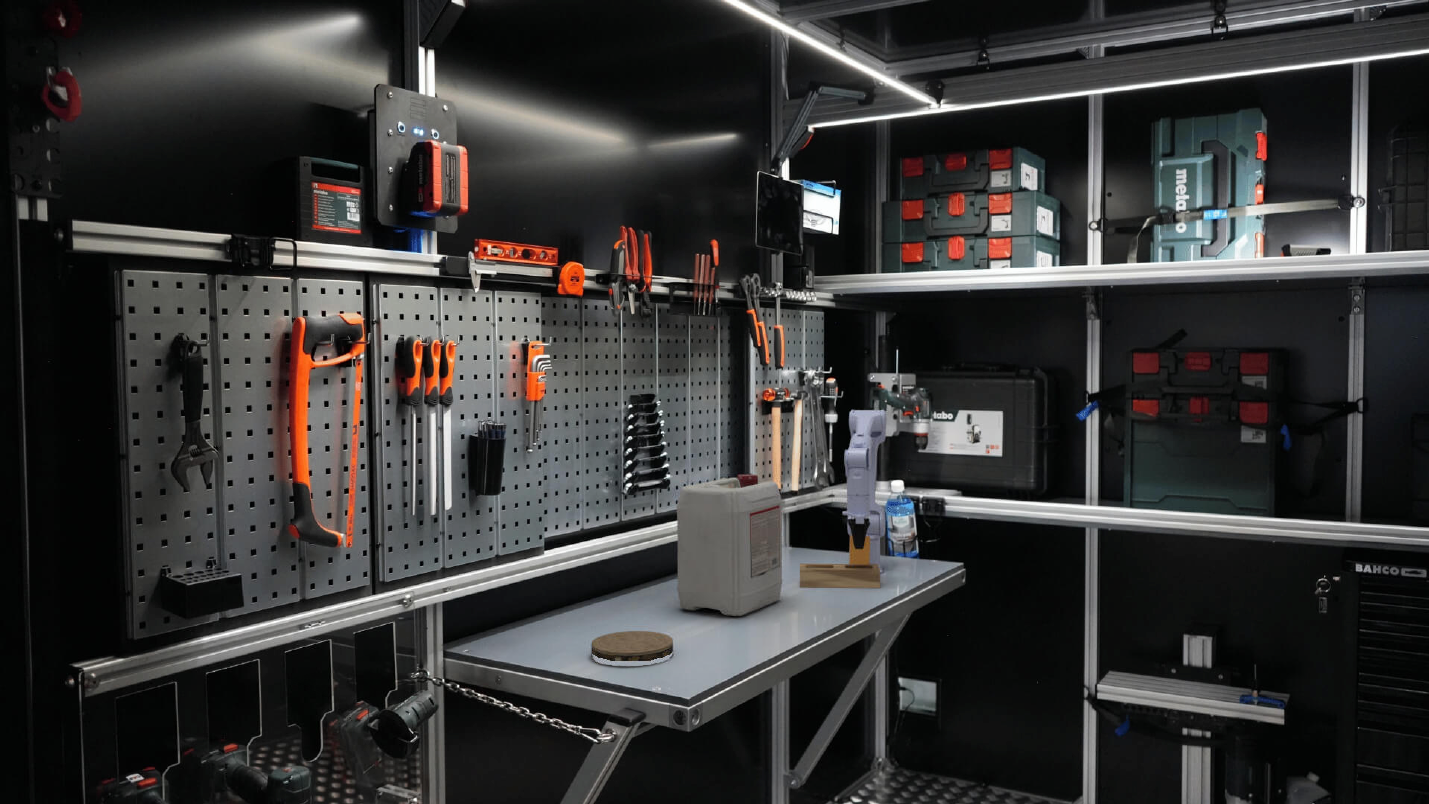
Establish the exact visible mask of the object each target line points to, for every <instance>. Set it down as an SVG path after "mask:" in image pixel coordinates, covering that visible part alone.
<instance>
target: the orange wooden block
mask: <svg viewBox="0 0 1429 804" xmlns="http://www.w3.org/2000/svg"><path fill="white" fill-rule="evenodd" d="M848 551H849V553H848V554H849V555H848V556H849V557H848V564H863V565H869V560H870V536H866V537H865V544H864V548H863V549H855V547H854V542H853V536H852V535H849V550H848Z"/></svg>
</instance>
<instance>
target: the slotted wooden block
mask: <svg viewBox="0 0 1429 804" xmlns="http://www.w3.org/2000/svg"><path fill="white" fill-rule="evenodd" d="M799 588H813V589H814V588H818V589H819V588H826V589H827V588H829V589H830V588H831V589H832V588H834V589H836V588H838V589H839V588H842V589H849V588H850V589H852V588H853V589H854V588H855V589H856V588H857V589H881V573H880V569H879V566H878V564H869V565H863V564H849V563H800V564H799Z"/></svg>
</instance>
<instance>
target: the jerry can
mask: <svg viewBox="0 0 1429 804" xmlns="http://www.w3.org/2000/svg"><path fill="white" fill-rule="evenodd" d="M778 485H779V484H778V483H776V481H774V480H768V481H764V482H759V478H758V475H757V474H738V475H737V477H729V478H725V477H722V478H720V479H717V480H712V481H711V480H709V481H707V482H706V481H705V482H702V483H695V484H687V485H686V486H682V487H681V488H680V491H679V496H678V500H677V504H676V514H677V515H676V517H677V526H676V529H677V533H676V534H677V588H676V590H677V595H678V599H679V604H680V605H679V606H680V607H681V609H683V610H686V611H692V612H693V611H698V610H699V609H705V608H707V609H710V610H718V611H720V612H721V614H723V615H724V616H732V617H741V616H744V615H747V614H749V613H752V612H755V611H756V610H759V609H761V608H763V607H764V608H765V607H767V606H768V605H771V604H772V603H775V602H777V601H779V600H780V597H781V592H782V585H783V564H782V559H783V553H782V551H783V544H782V543H783V542H782V541H783V539H782V537H783V536H782V533H783V531H782V529H783V528H782V527H783V526H782V525H783V521H782V518H783V517H782V513H783V512H782V511H783V510H782V508H783V507H782V504H783V500H782V497H781V493H780V490H779V486H778Z"/></svg>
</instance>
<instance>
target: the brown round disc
mask: <svg viewBox="0 0 1429 804" xmlns="http://www.w3.org/2000/svg"><path fill="white" fill-rule="evenodd" d="M590 652H591V655H592V654H593V655H595V656H597V657H598V658H603V659H607V660H610V661H651V660H654V659H657V658H663V657H665V656H667V655H670V654H671V653H672V652H673V653H674V638H673V637H671V635H668V634H665V633H662V632H655V631H649V630H648V631H647V630H627V631H620V632H619V631H617V632H613V633H612V632H611V633H607V634H603V635H601V636H598V637H596V638H594V639H593V640H592V642H591V651H590Z"/></svg>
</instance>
